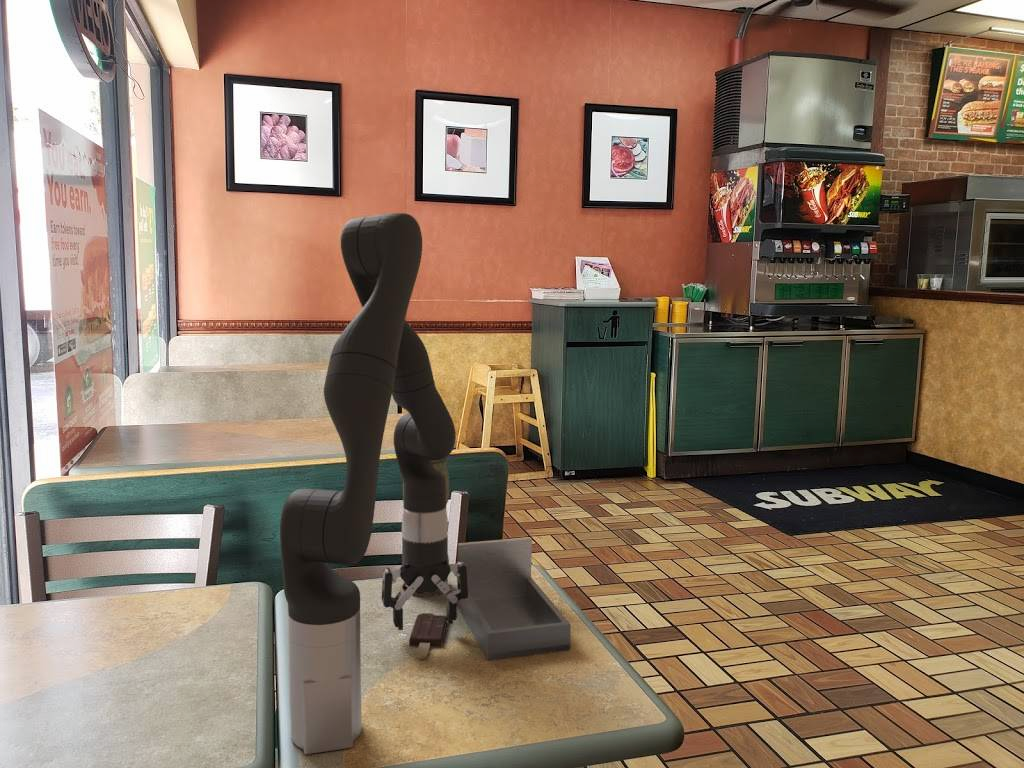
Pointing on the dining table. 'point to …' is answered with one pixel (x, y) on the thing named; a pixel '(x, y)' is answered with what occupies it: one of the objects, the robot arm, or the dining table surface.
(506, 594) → the silver tray
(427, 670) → the dining table surface
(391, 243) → the robot arm
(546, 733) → the dining table surface
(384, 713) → the dining table surface
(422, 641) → the ice cream bar
